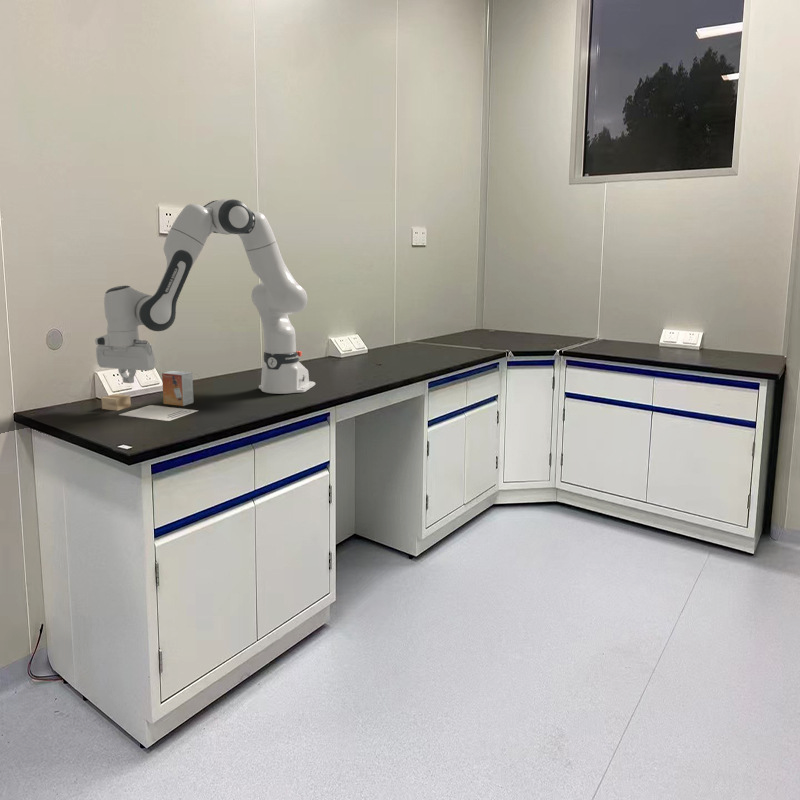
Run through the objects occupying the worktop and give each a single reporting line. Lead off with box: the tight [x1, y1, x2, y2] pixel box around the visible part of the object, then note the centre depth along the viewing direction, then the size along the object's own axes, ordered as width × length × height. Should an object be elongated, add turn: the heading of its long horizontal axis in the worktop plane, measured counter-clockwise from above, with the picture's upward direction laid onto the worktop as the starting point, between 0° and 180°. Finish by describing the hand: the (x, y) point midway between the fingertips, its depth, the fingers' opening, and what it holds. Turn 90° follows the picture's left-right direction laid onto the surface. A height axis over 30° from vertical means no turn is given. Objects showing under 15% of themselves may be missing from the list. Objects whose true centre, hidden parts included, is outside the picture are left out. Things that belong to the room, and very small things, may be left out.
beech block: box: [101, 393, 132, 411], centre depth 209 cm, size 6×6×4 cm
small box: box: [161, 370, 195, 407], centre depth 215 cm, size 8×6×10 cm
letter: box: [118, 404, 199, 422], centre depth 204 cm, size 14×19×1 cm
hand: (128, 382), depth 206 cm, fingers closed
